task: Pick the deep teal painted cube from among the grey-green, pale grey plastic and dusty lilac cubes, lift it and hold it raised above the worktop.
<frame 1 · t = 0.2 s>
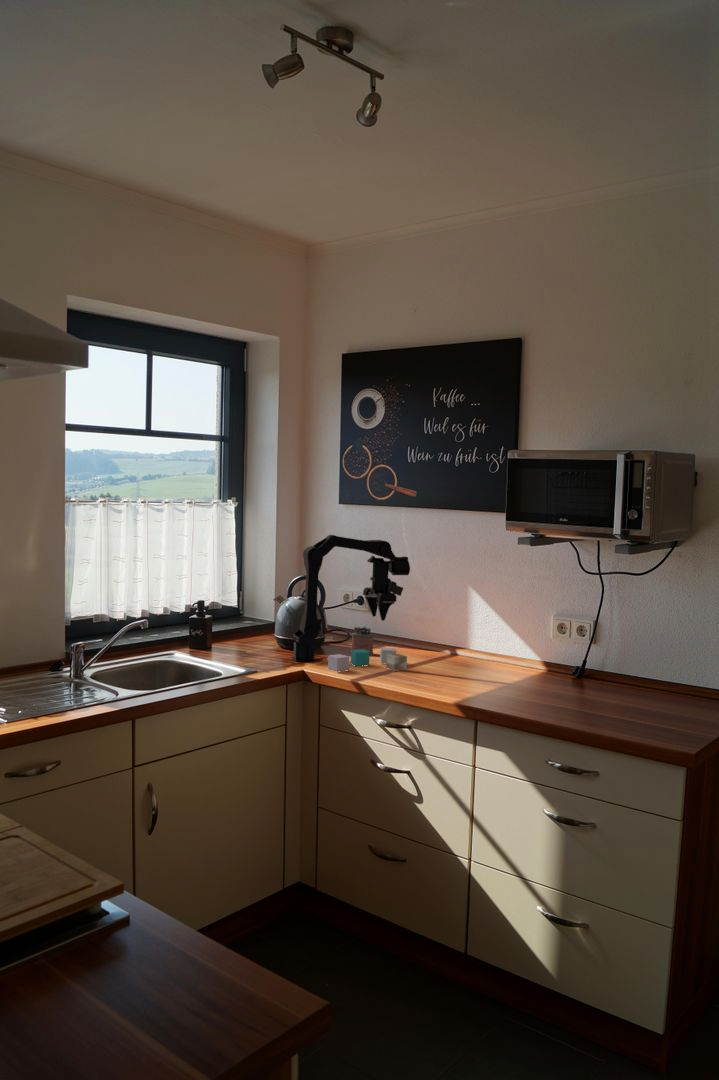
hand: (378, 618, 315), 14 cm above the countertop, tool pointing down, fingers open, 9 cm apart
lilac cube: (338, 670, 292), on the countertop
teal cube: (359, 665, 302), on the countertop
grey cube: (387, 663, 307), on the countertop
brown upright block: (362, 654, 321), on the countertop
grey-green cube: (396, 669, 296), on the countertop
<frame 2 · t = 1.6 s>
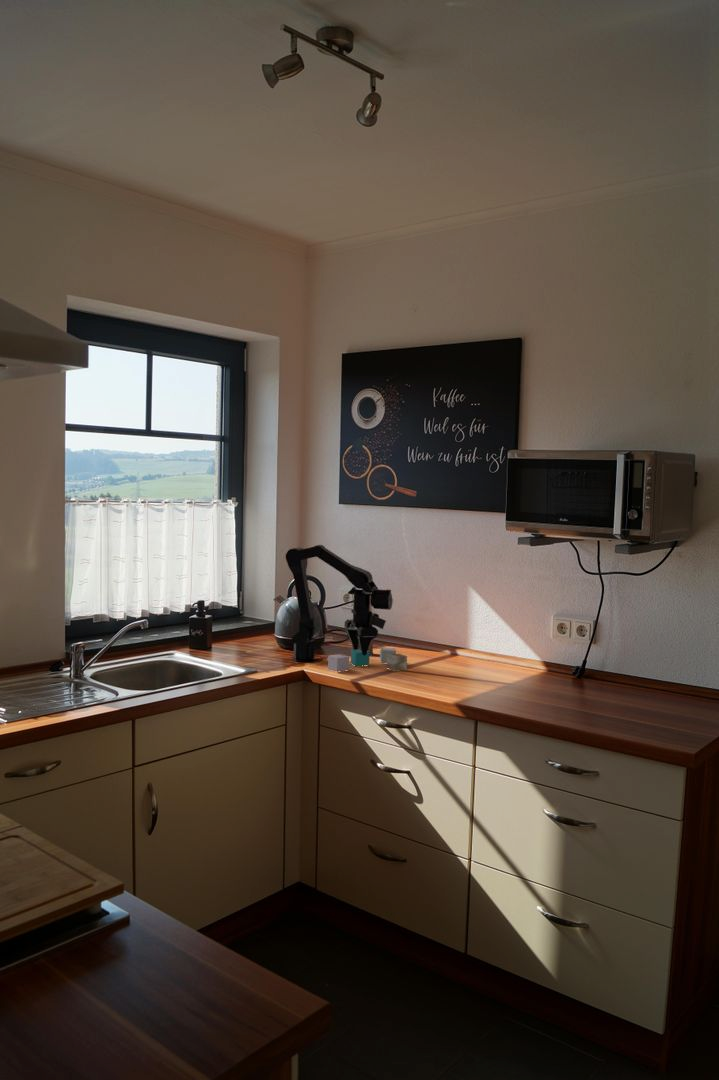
hand: (360, 652, 301), 4 cm above the countertop, tool pointing down, fingers open, 9 cm apart
nothing on the countertop moved.
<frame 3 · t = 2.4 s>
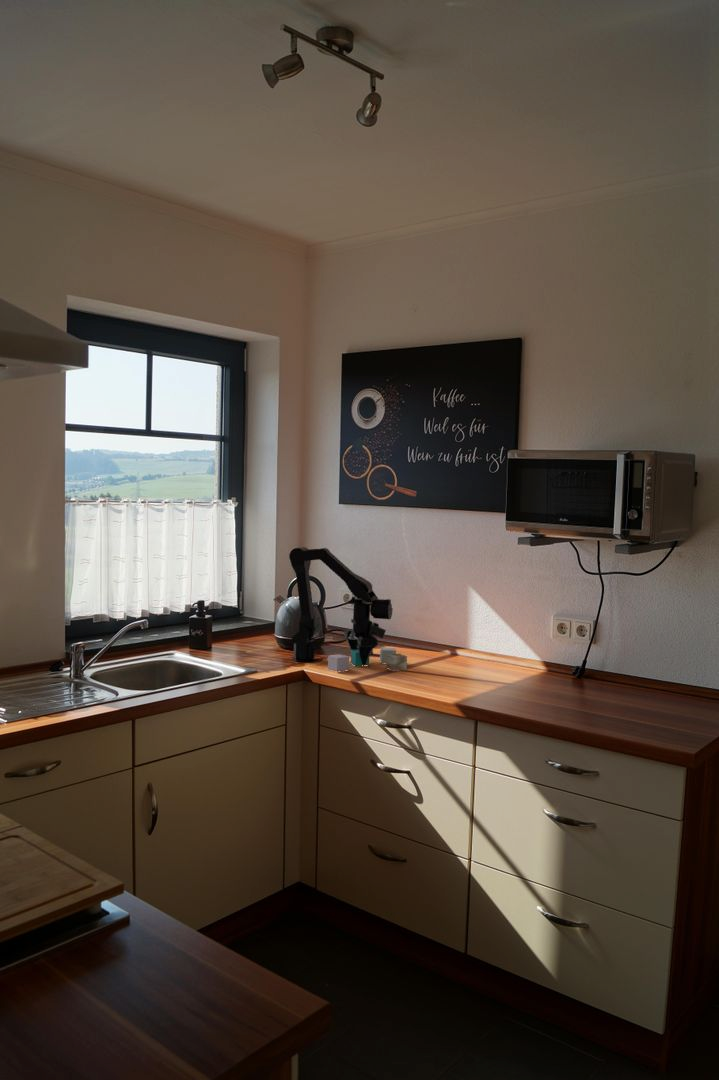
hand: (359, 662, 302), 1 cm above the countertop, tool pointing down, fingers open, 8 cm apart
nothing on the countertop moved.
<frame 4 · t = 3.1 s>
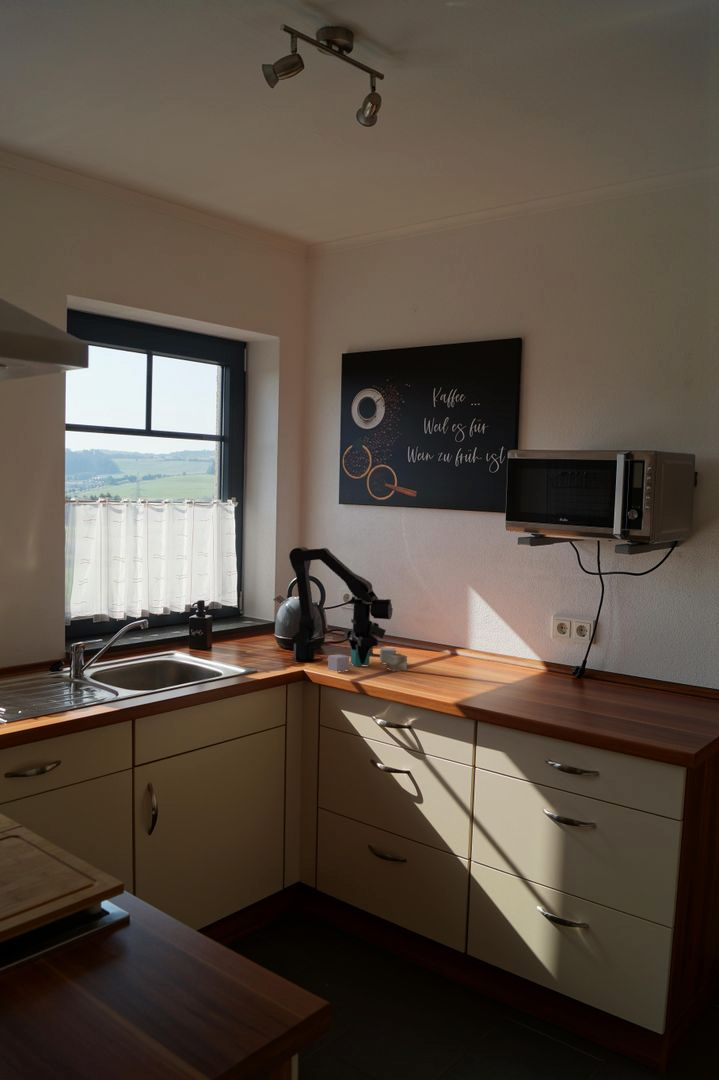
hand: (359, 662, 302), 1 cm above the countertop, tool pointing down, fingers closed on teal cube, 5 cm apart
teal cube: (359, 665, 302), on the countertop, touching gripper
everything else where it was.
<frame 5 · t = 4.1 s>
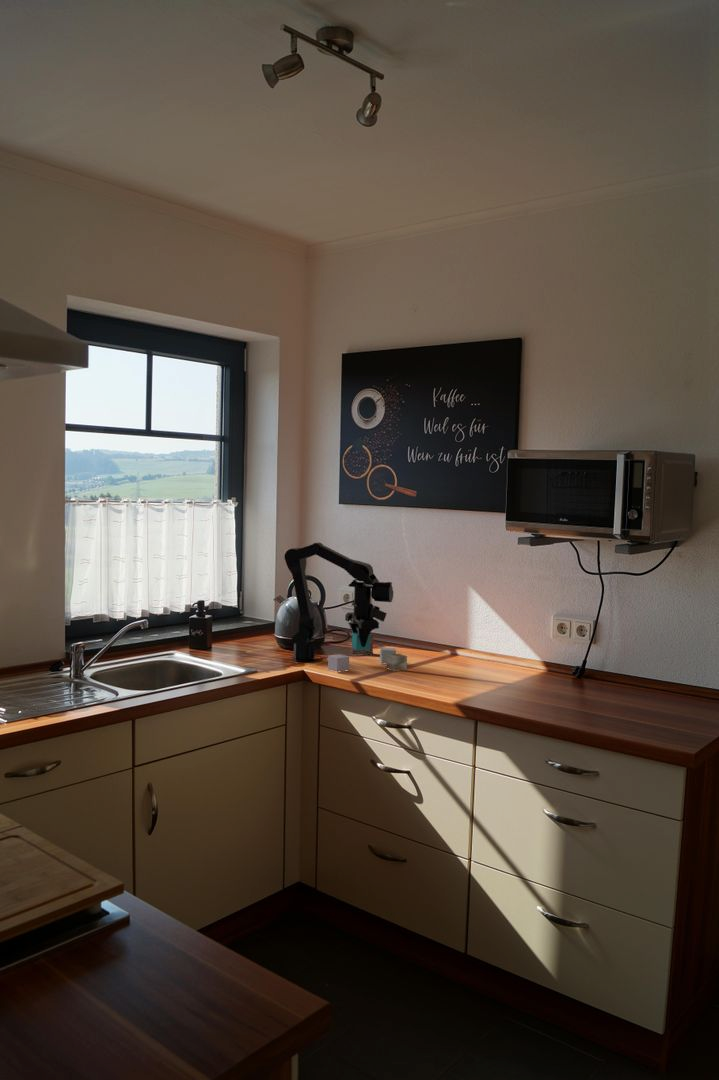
hand: (360, 645, 301), 7 cm above the countertop, tool pointing down, fingers closed on teal cube, 5 cm apart
teal cube: (360, 648, 301), point 6 cm above the countertop, touching gripper
everything else where it was.
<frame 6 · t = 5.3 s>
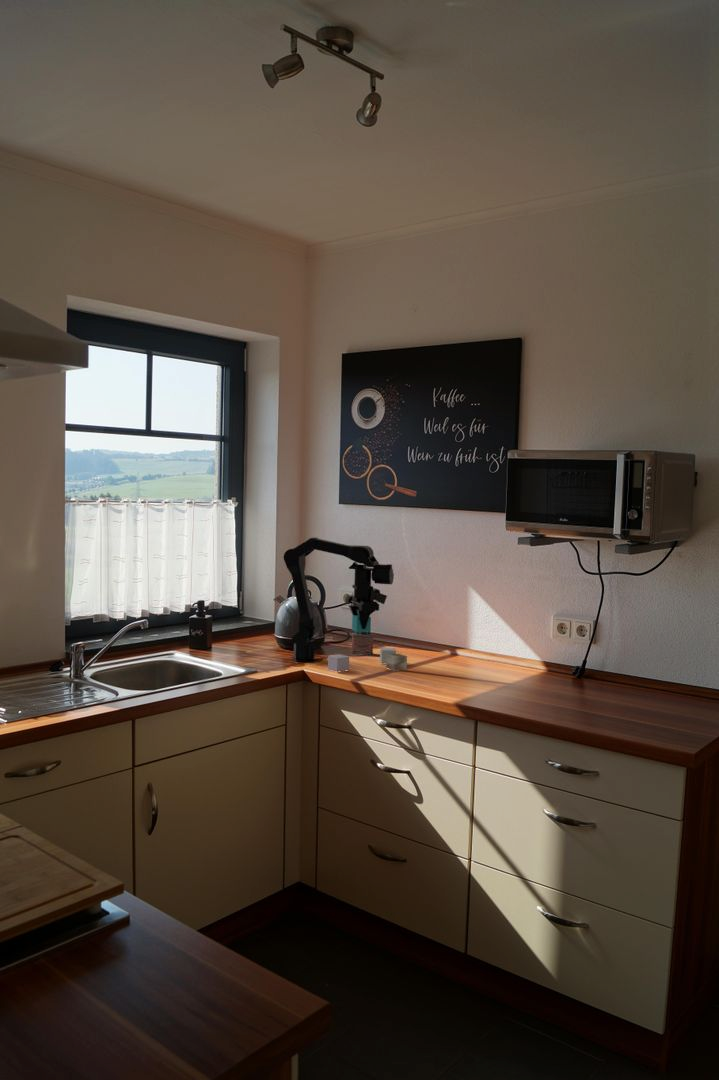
hand: (361, 627, 301), 13 cm above the countertop, tool pointing down, fingers closed on teal cube, 5 cm apart
teal cube: (361, 630, 301), point 12 cm above the countertop, touching gripper
everything else where it was.
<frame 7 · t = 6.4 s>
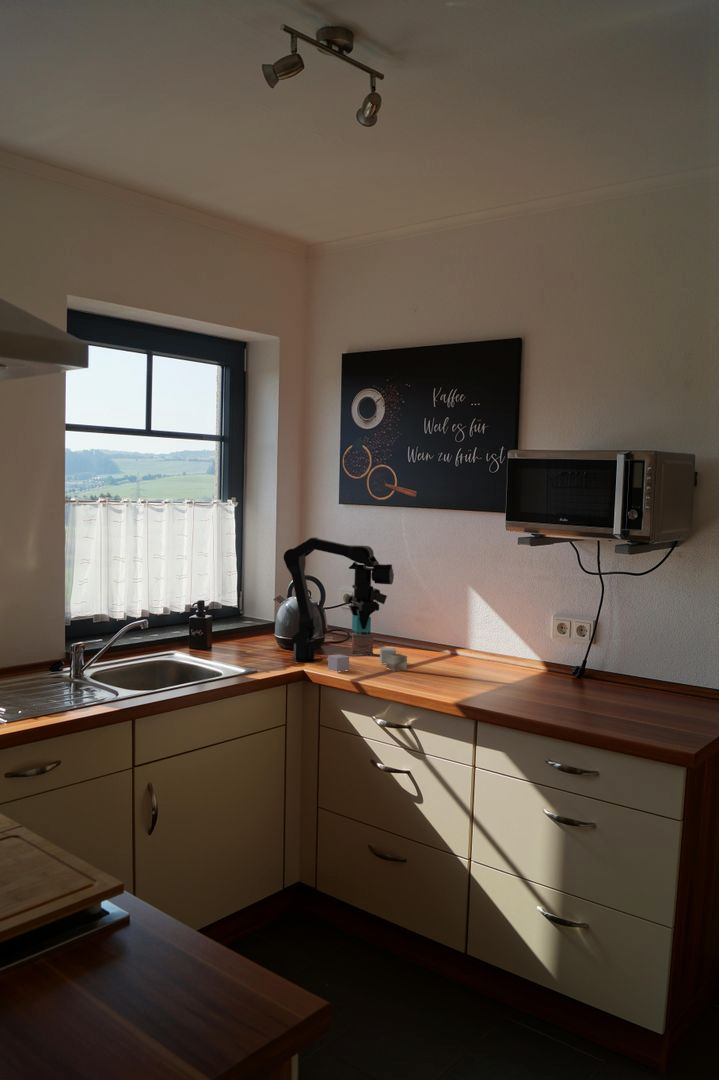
hand: (361, 627, 301), 13 cm above the countertop, tool pointing down, fingers closed on teal cube, 5 cm apart
teal cube: (361, 630, 301), point 12 cm above the countertop, touching gripper
everything else where it was.
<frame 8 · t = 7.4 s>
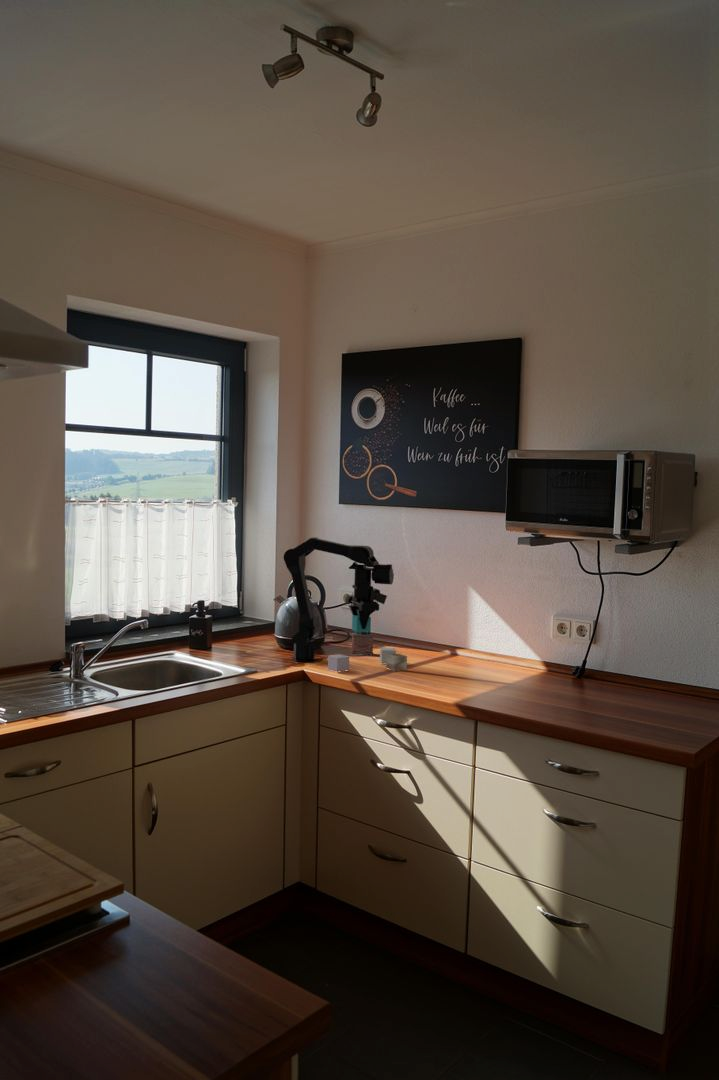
hand: (361, 627, 301), 13 cm above the countertop, tool pointing down, fingers closed on teal cube, 5 cm apart
teal cube: (361, 630, 301), point 12 cm above the countertop, touching gripper
everything else where it was.
at the end: the gripper is holding teal cube; teal cube point 11.9 cm above the countertop; grey cube moved 0.1 cm from its start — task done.
